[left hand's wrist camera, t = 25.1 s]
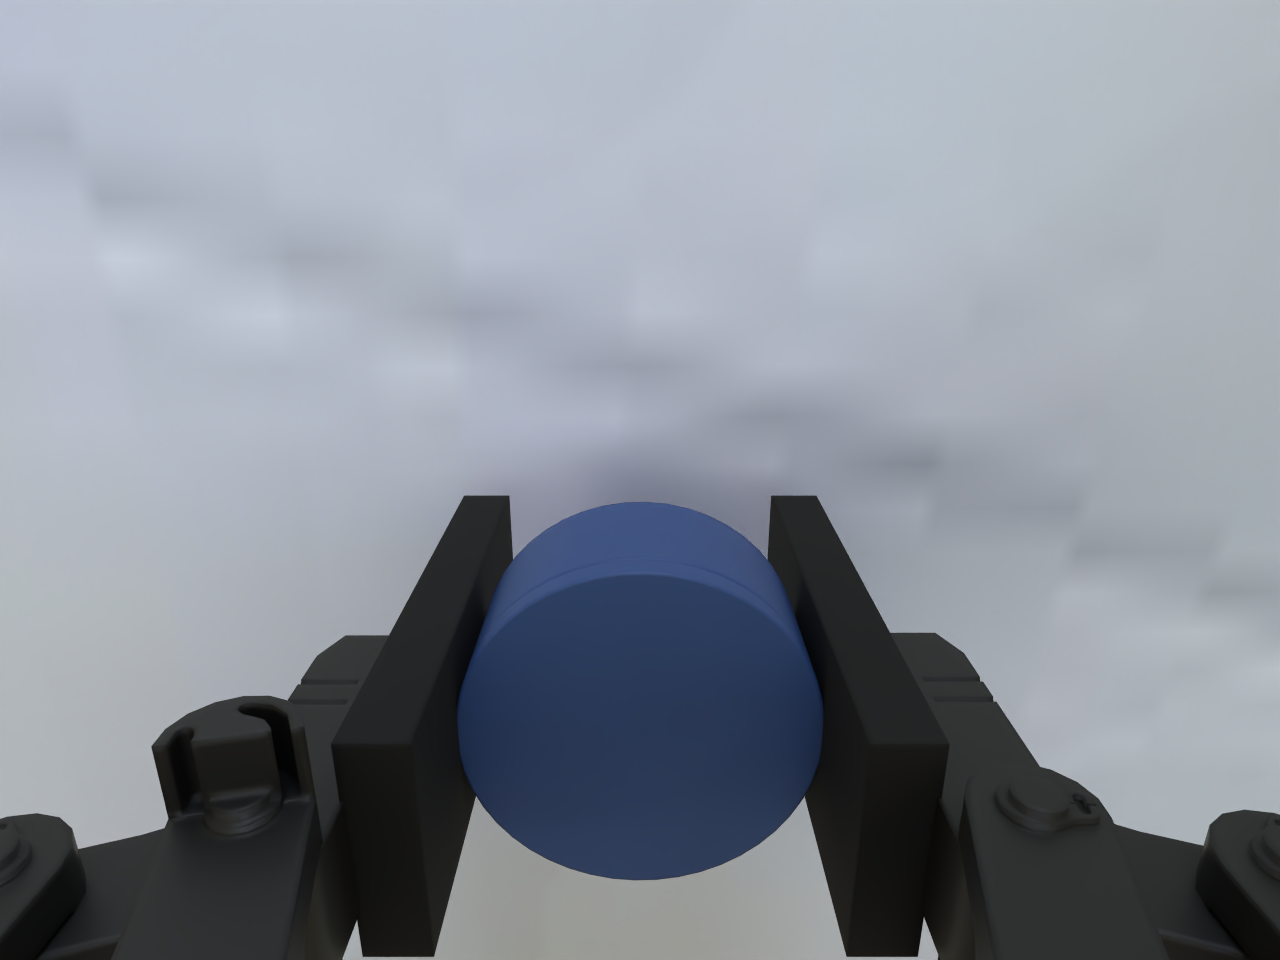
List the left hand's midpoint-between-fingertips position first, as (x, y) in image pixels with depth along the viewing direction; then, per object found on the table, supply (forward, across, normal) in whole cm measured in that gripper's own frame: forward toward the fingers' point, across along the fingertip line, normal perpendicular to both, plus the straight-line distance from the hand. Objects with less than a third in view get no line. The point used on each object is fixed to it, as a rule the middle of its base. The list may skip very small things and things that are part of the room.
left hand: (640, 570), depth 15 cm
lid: (-4, 0, 0) cm, 4 cm away
